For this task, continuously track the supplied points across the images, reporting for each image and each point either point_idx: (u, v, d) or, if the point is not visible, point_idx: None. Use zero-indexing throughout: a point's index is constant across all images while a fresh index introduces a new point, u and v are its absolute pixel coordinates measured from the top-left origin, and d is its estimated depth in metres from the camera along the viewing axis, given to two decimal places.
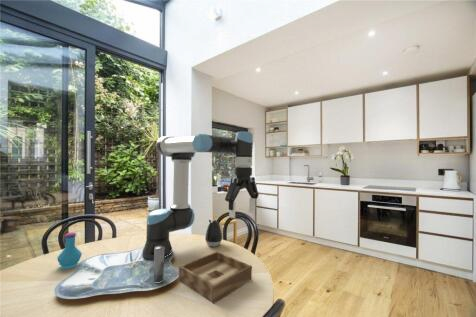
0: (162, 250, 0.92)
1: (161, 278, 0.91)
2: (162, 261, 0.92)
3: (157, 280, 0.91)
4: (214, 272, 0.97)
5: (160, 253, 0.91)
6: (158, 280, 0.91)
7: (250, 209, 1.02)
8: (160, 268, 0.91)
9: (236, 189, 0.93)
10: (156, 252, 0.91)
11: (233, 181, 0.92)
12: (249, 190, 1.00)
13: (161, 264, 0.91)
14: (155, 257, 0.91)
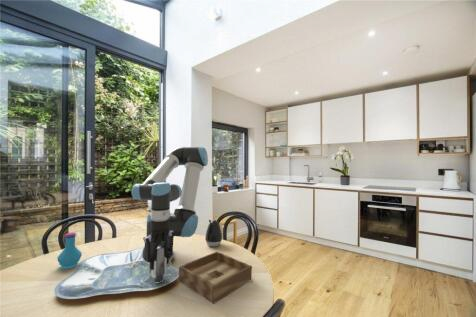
0: (162, 250, 0.92)
1: (161, 278, 0.92)
2: (162, 261, 0.92)
3: (157, 280, 0.91)
4: (214, 272, 0.97)
5: (160, 253, 0.91)
6: (158, 280, 0.91)
7: None
8: (160, 268, 0.91)
9: (153, 247, 0.91)
10: (156, 252, 0.91)
11: (145, 241, 0.88)
12: (163, 245, 0.94)
13: (161, 264, 0.91)
14: (155, 257, 0.91)
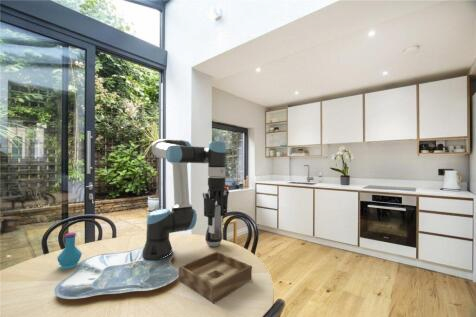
0: (219, 207, 0.93)
1: (219, 235, 0.93)
2: (219, 218, 0.93)
3: (215, 236, 0.92)
4: (214, 272, 0.97)
5: (218, 210, 0.93)
6: (216, 236, 0.92)
7: None
8: (218, 224, 0.92)
9: (211, 203, 0.92)
10: (214, 209, 0.92)
11: (205, 197, 0.90)
12: (219, 203, 0.95)
13: (219, 221, 0.93)
14: None
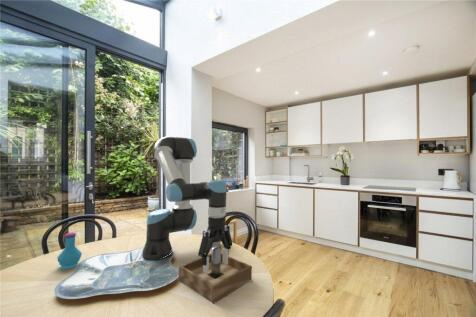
0: (220, 250, 0.93)
1: None
2: (219, 261, 0.93)
3: None
4: None
5: (218, 253, 0.93)
6: None
7: (223, 260, 0.98)
8: (218, 268, 0.92)
9: (209, 242, 0.91)
10: (214, 252, 0.92)
11: (205, 235, 0.89)
12: (222, 240, 0.97)
13: (219, 264, 0.93)
14: (213, 257, 0.93)
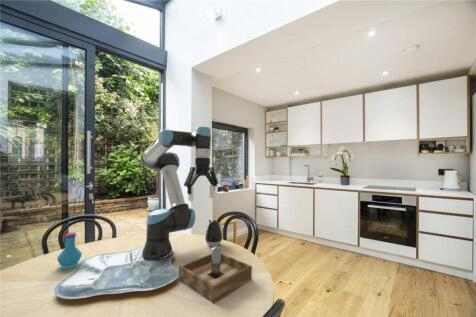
0: (219, 250, 0.93)
1: None
2: (219, 261, 0.93)
3: None
4: None
5: (218, 253, 0.93)
6: None
7: (210, 195, 1.16)
8: (218, 268, 0.92)
9: (195, 176, 1.07)
10: (214, 252, 0.92)
11: (191, 169, 1.06)
12: (208, 178, 1.14)
13: (219, 264, 0.93)
14: (213, 257, 0.93)
